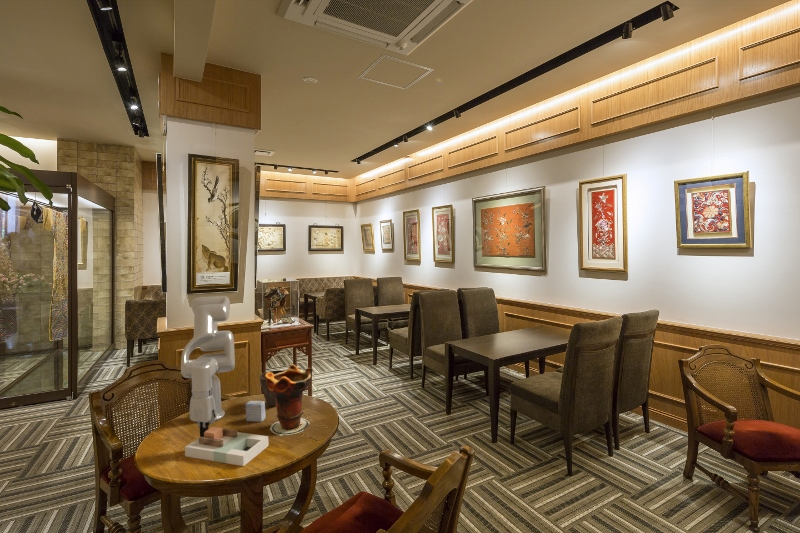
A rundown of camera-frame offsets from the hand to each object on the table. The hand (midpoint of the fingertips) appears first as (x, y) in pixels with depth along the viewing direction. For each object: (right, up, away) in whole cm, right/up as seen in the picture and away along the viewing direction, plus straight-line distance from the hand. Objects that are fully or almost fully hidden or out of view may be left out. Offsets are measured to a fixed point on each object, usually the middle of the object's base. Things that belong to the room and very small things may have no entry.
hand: (204, 435), depth 166 cm
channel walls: (+7, -1, -2) cm, 7 cm away
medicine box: (+12, -4, +26) cm, 29 cm away
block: (+5, -1, -1) cm, 5 cm away
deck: (+11, -5, -3) cm, 13 cm away
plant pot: (+16, -3, +45) cm, 48 cm away
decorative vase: (+31, -4, +18) cm, 36 cm away
